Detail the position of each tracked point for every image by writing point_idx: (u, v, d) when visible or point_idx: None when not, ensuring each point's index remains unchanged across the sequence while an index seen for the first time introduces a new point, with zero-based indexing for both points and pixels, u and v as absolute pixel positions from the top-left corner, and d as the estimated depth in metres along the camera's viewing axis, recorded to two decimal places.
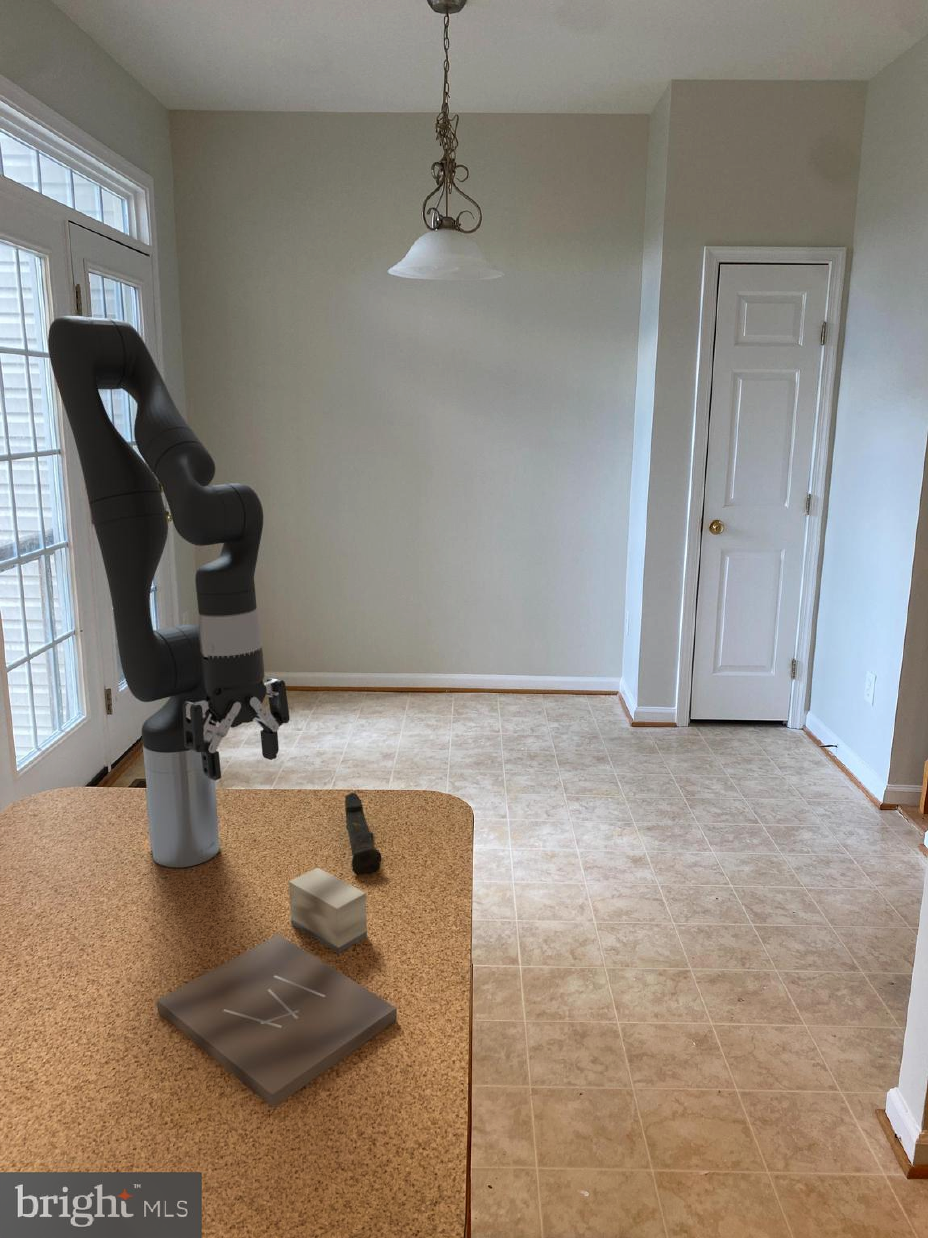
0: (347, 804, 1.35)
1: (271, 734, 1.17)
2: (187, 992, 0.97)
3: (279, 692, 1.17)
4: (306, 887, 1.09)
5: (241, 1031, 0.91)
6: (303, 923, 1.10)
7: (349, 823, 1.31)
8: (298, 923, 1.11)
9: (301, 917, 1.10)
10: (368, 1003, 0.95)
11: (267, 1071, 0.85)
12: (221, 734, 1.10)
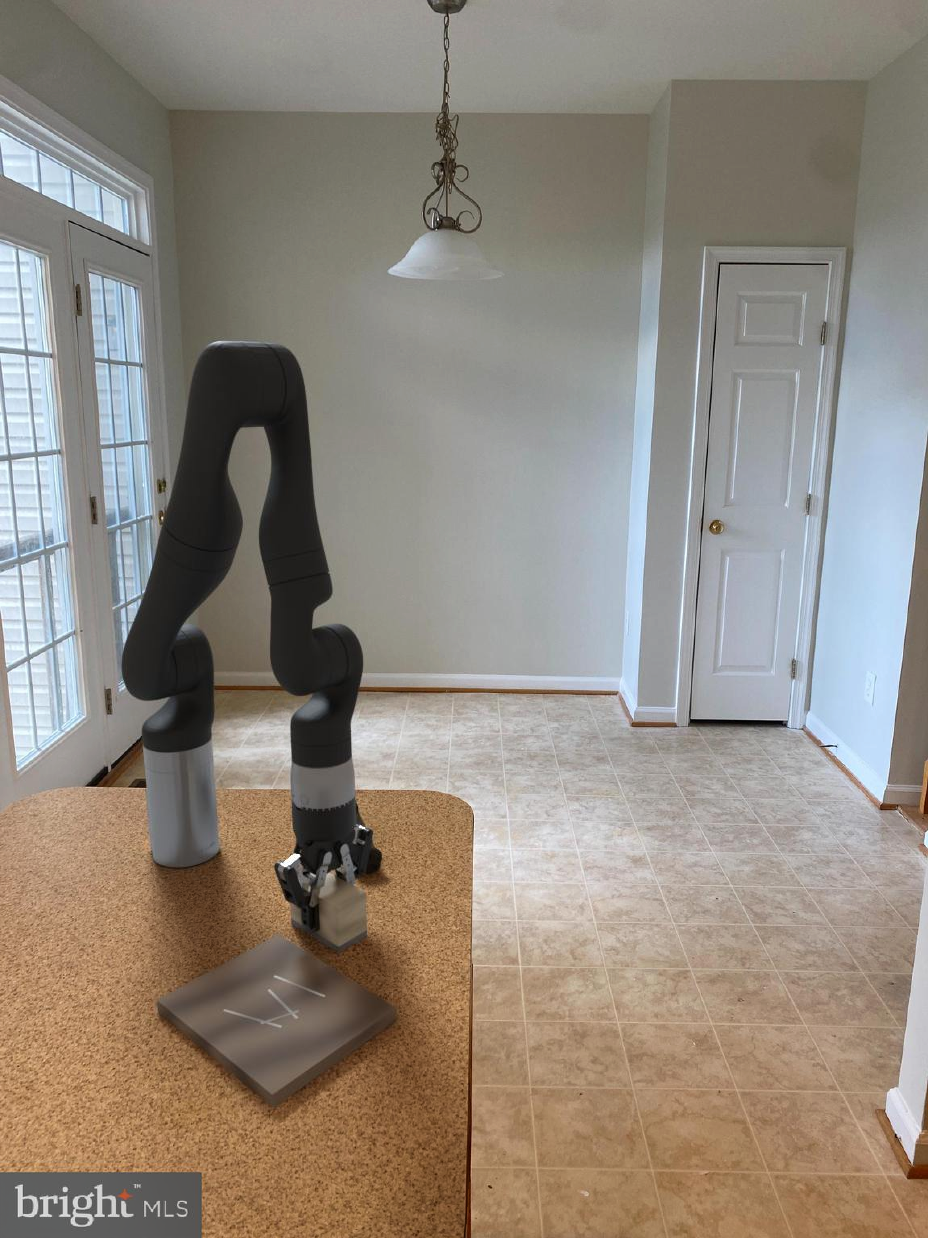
0: None
1: None
2: (187, 992, 0.97)
3: (365, 841, 1.11)
4: None
5: (241, 1031, 0.91)
6: None
7: None
8: (298, 922, 1.11)
9: None
10: (368, 1003, 0.95)
11: (267, 1071, 0.85)
12: (319, 887, 1.06)
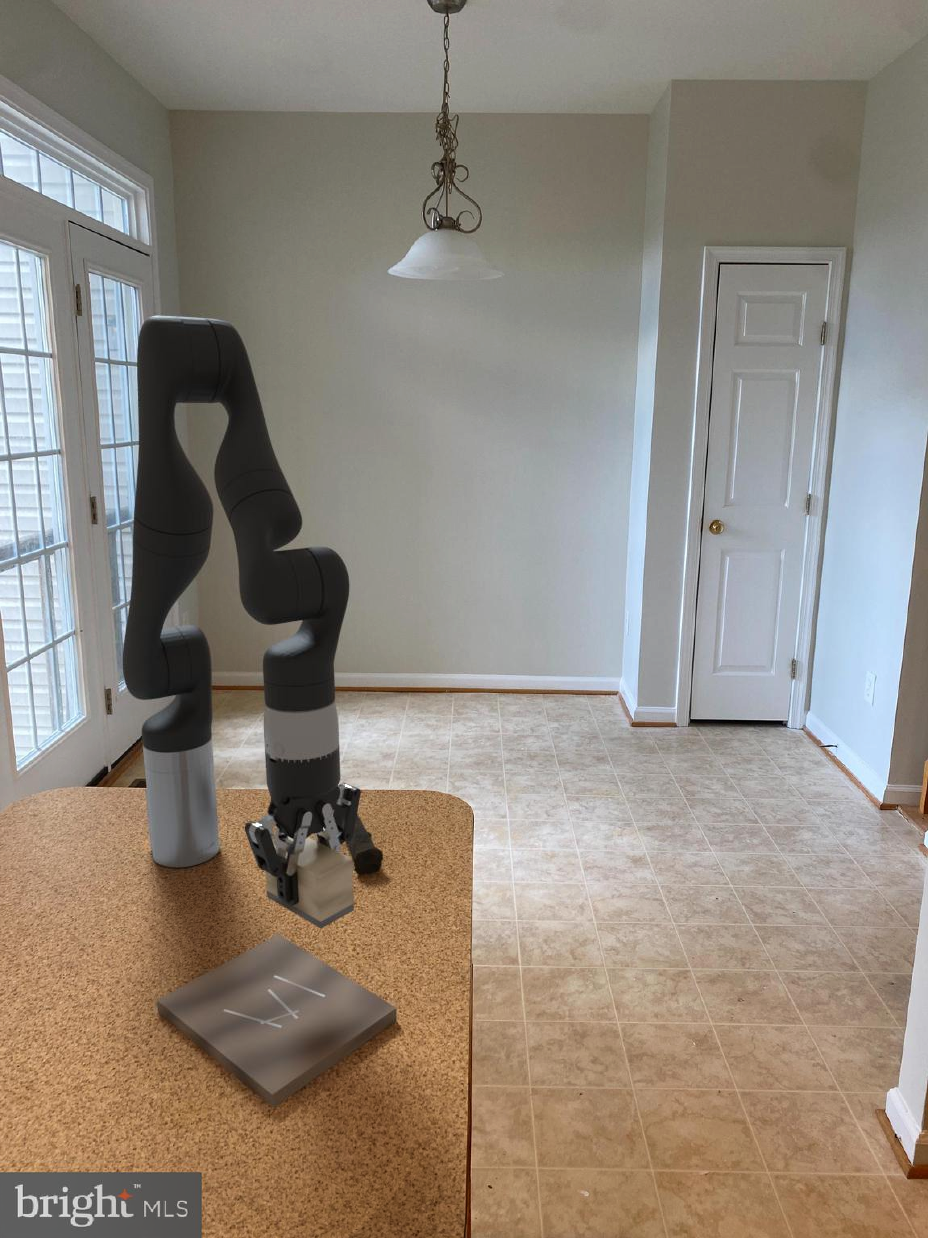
0: None
1: None
2: (187, 992, 0.97)
3: (352, 802, 0.97)
4: None
5: (241, 1031, 0.91)
6: None
7: None
8: (275, 895, 0.96)
9: None
10: (368, 1003, 0.95)
11: (267, 1071, 0.85)
12: (297, 852, 0.91)
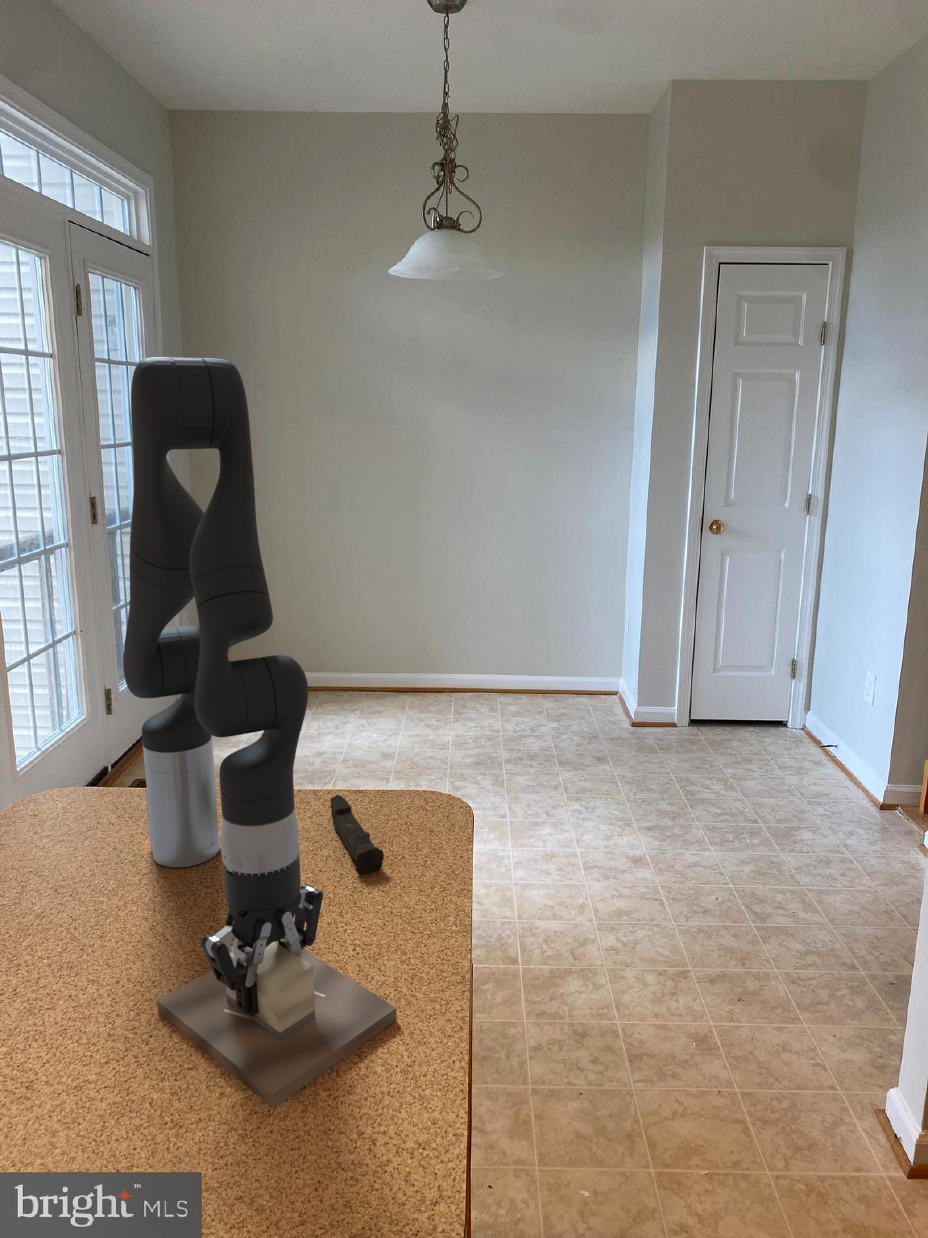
0: (335, 806, 1.34)
1: None
2: (187, 992, 0.97)
3: (313, 906, 0.95)
4: None
5: (241, 1031, 0.91)
6: None
7: (341, 825, 1.31)
8: (235, 1000, 0.94)
9: None
10: (368, 1003, 0.95)
11: (267, 1071, 0.85)
12: (256, 964, 0.89)
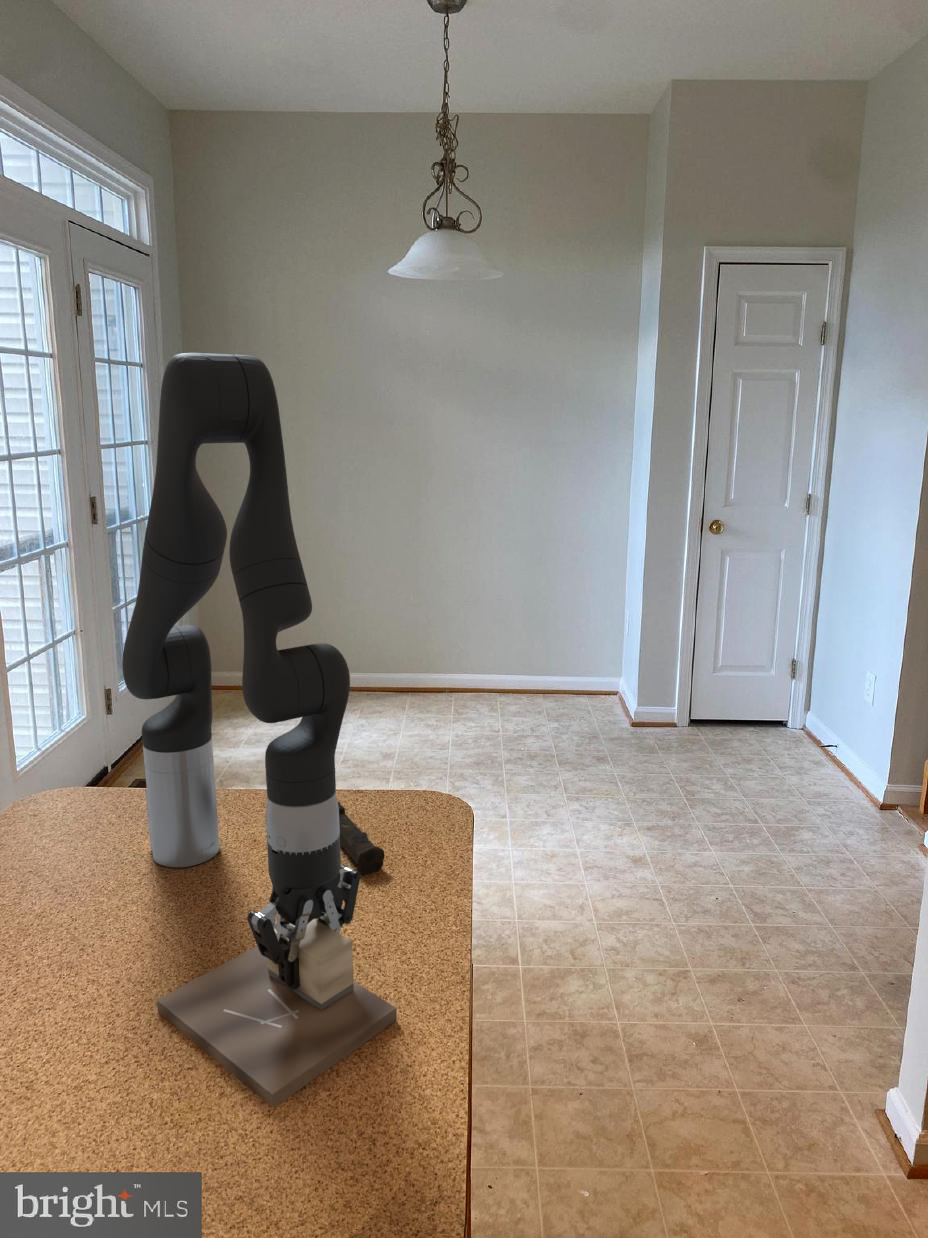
0: None
1: None
2: (187, 992, 0.97)
3: (352, 885, 0.99)
4: None
5: (241, 1031, 0.91)
6: None
7: None
8: (276, 974, 0.98)
9: None
10: (368, 1003, 0.95)
11: (267, 1071, 0.85)
12: (298, 939, 0.94)
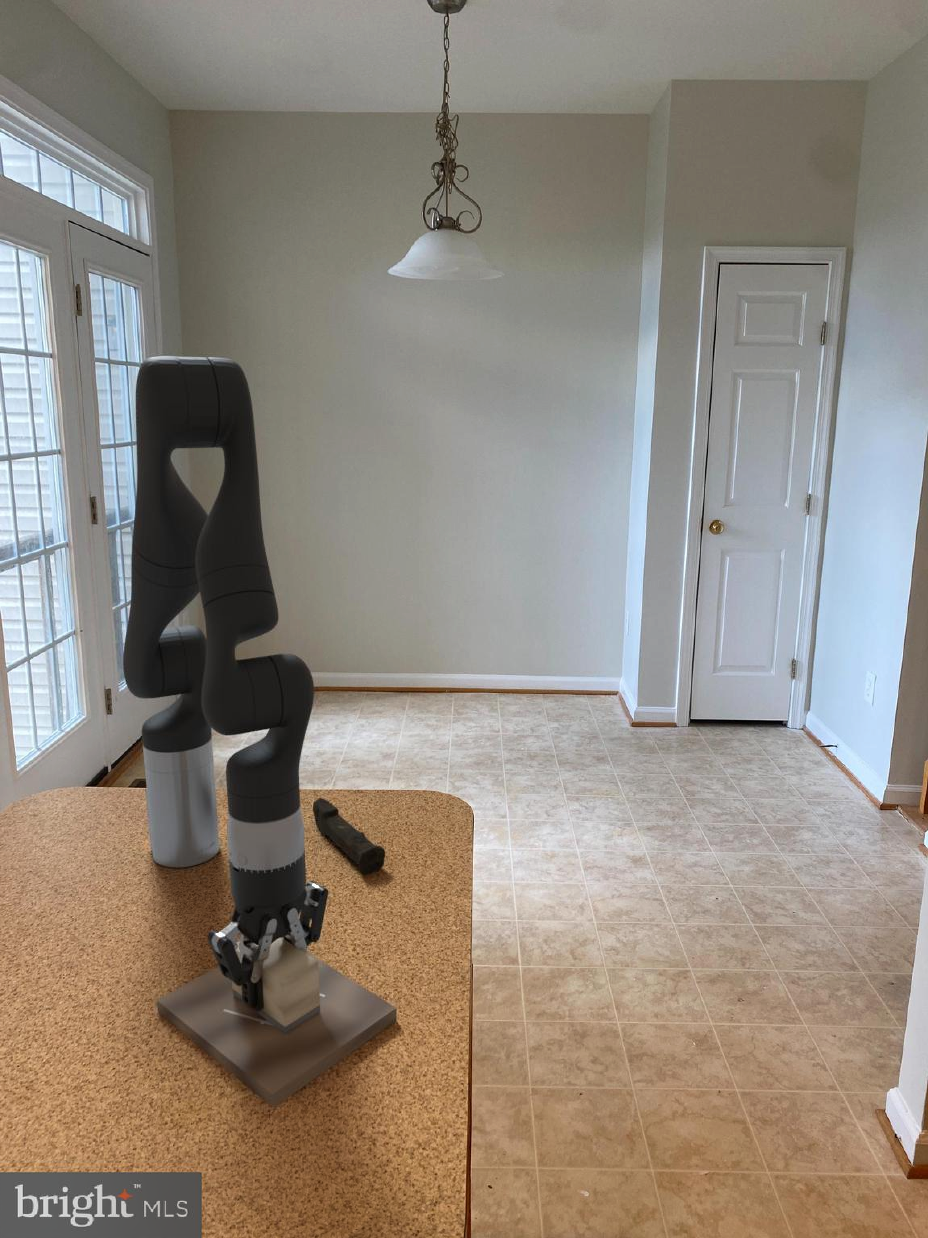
0: (322, 809, 1.33)
1: None
2: (187, 992, 0.97)
3: (319, 903, 0.96)
4: None
5: (241, 1031, 0.91)
6: None
7: (333, 827, 1.30)
8: (241, 994, 0.95)
9: None
10: (368, 1003, 0.95)
11: (267, 1071, 0.85)
12: (262, 959, 0.90)
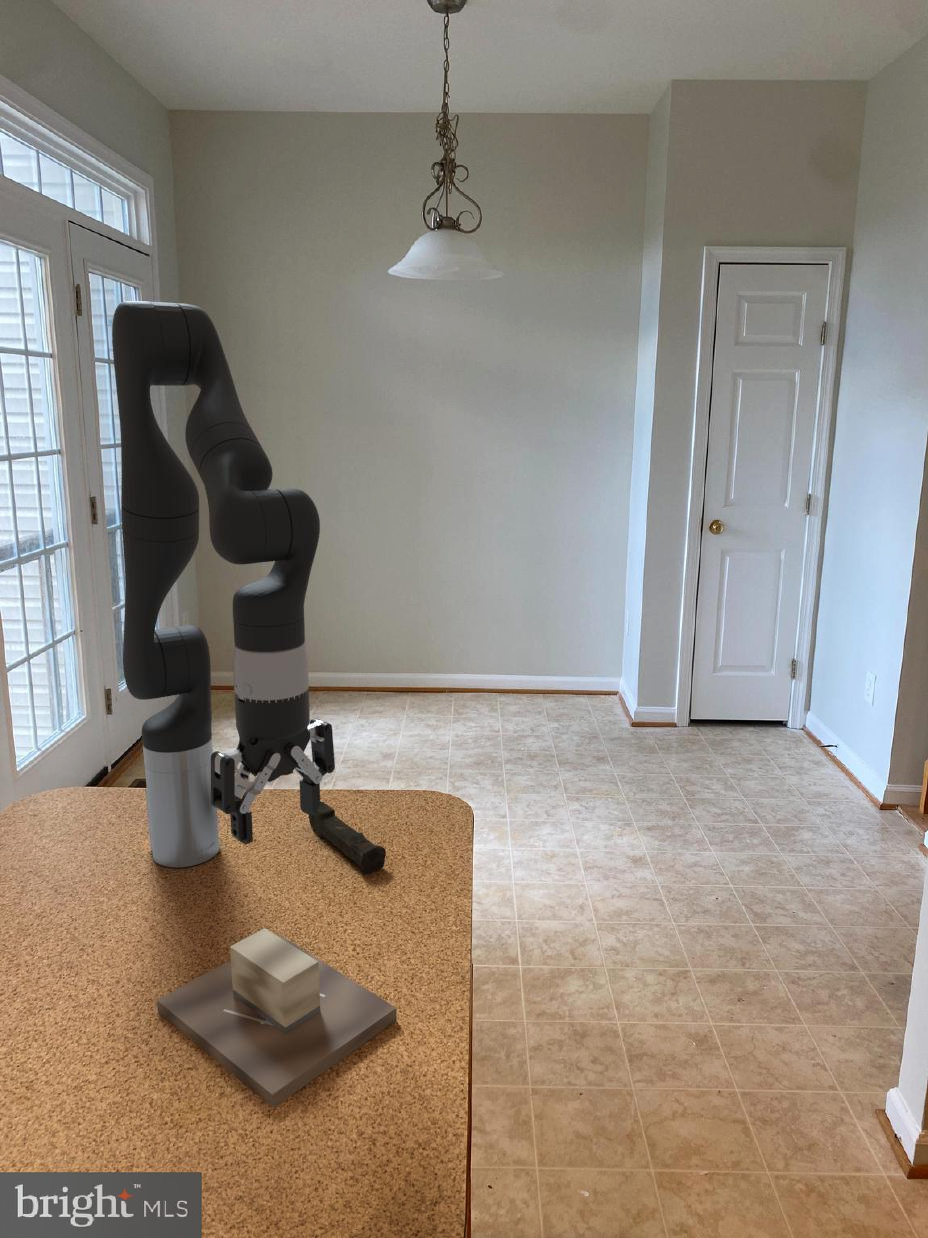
0: (318, 811, 1.33)
1: (313, 787, 0.98)
2: (187, 992, 0.97)
3: (325, 737, 0.97)
4: (249, 953, 0.93)
5: (241, 1031, 0.91)
6: (246, 995, 0.94)
7: (331, 828, 1.30)
8: (241, 995, 0.95)
9: (244, 988, 0.94)
10: (368, 1003, 0.95)
11: (267, 1071, 0.85)
12: (255, 791, 0.91)
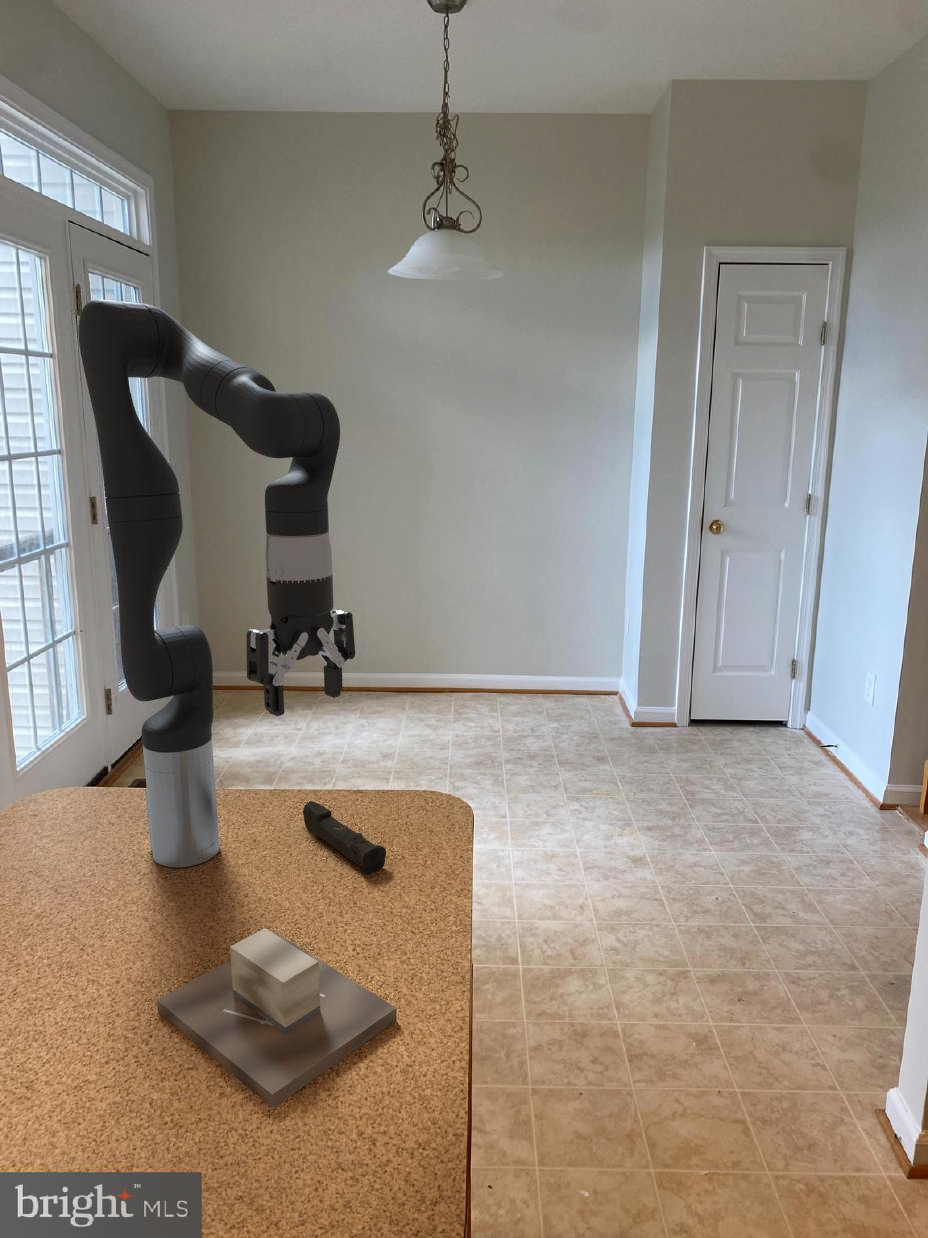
0: (315, 812, 1.32)
1: (336, 670, 1.08)
2: (187, 992, 0.97)
3: (346, 625, 1.08)
4: (249, 953, 0.93)
5: (241, 1031, 0.91)
6: (246, 995, 0.94)
7: (328, 829, 1.29)
8: (241, 995, 0.95)
9: (244, 988, 0.94)
10: (368, 1003, 0.95)
11: (267, 1071, 0.85)
12: (286, 666, 1.02)
